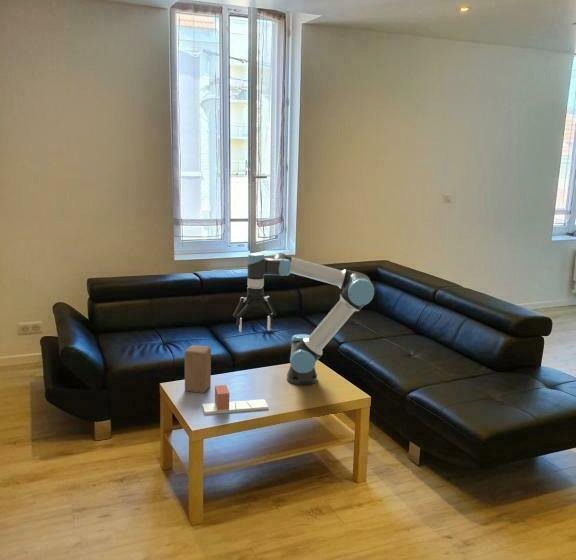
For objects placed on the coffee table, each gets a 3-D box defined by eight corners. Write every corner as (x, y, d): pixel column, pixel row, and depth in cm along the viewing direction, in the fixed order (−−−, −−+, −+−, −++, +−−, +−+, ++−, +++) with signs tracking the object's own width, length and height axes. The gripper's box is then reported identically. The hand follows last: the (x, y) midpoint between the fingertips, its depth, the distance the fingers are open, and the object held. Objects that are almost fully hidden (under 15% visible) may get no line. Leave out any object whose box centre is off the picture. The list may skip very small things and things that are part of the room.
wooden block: (204, 393, 269) (204, 353, 264) (183, 391, 271) (183, 351, 266) (211, 385, 278) (211, 346, 274) (191, 383, 280) (191, 344, 276)
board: (264, 401, 263) (264, 399, 262) (268, 409, 255) (268, 406, 255) (202, 406, 256) (202, 403, 255) (204, 414, 248) (204, 411, 248)
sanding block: (226, 401, 258) (226, 385, 257) (229, 410, 250) (229, 393, 248) (214, 402, 257) (214, 385, 255) (217, 411, 249) (217, 394, 247)
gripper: (279, 284, 273) (278, 327, 278) (227, 285, 266) (226, 329, 271) (283, 287, 266) (282, 331, 270) (229, 289, 259) (229, 334, 264)
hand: (254, 330), depth 271 cm, fingers open, 13 cm apart
